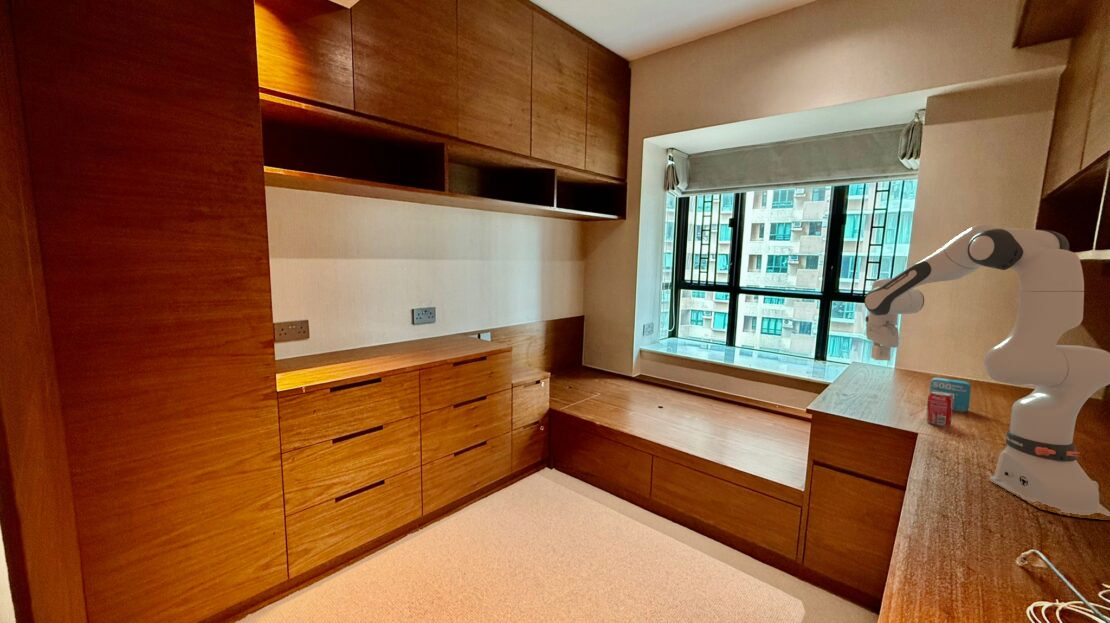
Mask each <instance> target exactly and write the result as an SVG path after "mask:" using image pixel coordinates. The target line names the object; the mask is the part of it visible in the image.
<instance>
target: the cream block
mask: <svg viewBox="0 0 1110 623" xmlns="http://www.w3.org/2000/svg"><path fill="white" fill-rule="evenodd" d="M891 349H892V347H890V349H889V351H888V356H887V357H883V356H881V351H882V345H873V344H872V345H871V353H870V354H871V356H870V357H871V359H873V360H875V361H887V362H888V361H891V352H892V350H891Z"/></svg>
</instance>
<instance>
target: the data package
mask: <svg viewBox="0 0 1110 623" xmlns="http://www.w3.org/2000/svg"><path fill="white" fill-rule="evenodd" d="M929 386H930V387H929V394H930V393H931V391H942V392H947V393H950V394H951V397H952V398H953V411H955V412H957V413H958V412H960V413H967V412H968V411H969V409H970V402H971V401H970V399H971V389H972V384H971V383H970V382H968V381H965V380H958V379H957V380H956V379H950V378H943V377H942V378H941V377H933V378H932V379H931V381H930V384H929ZM953 411H952V412H953Z"/></svg>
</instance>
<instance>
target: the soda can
mask: <svg viewBox="0 0 1110 623" xmlns="http://www.w3.org/2000/svg"><path fill="white" fill-rule="evenodd" d="M952 410H953V398H952V397H951V394H950V393H947V392H942V391H931V393H930V392H929V394H928V397H927V402H926V416H925V418H926V421H927V422H928V423H929V424H931V425H933V426H938V427H947V426H950V425H951V423H952V418H953V411H952Z"/></svg>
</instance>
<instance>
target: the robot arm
mask: <svg viewBox="0 0 1110 623" xmlns="http://www.w3.org/2000/svg"><path fill="white" fill-rule="evenodd" d="M980 267H986V268H991V269H996V270H1001V271H1007V270H1008V269H1011V270H1013V271H1015V272H1016V274H1017V275H1018V277H1019V285H1018V286H1019V287H1018V304H1017V313H1016V314H1017V315H1016V320H1015V322H1014V326H1013V327H1012V329H1011V331H1010V332H1009V334H1008V335H1007V336H1006V338H1004V339H1003V340H1002V341H1000V342H999V344H997V345H995V346H994V347H991V348H990V349H988V351H987V352H986V354H985V355H984V358H983V367H984V370H985V372H986V373H987V374H988V376H989V377H990V378H992V379H993V380H994V381H996V382H999V383H1000V382H1001V383H1005V384H1009V385H1015V386H1020V387H1021V386H1023V387H1035V389H1034V390H1033V391H1032V392H1031V393H1030V394H1029V395H1028V394H1027V396H1024V397H1022V398H1019V399H1017V400H1016V401H1015V402H1014V403H1013V405H1011V406H1012V407H1011V413H1010V423H1009V429H1007V431H1006V434H1005V444H1006V446H1005V447H1004V449H1003V450H1002V451H1001V452H1000V453H999V455H998V459H997V464H996V468H995V471H994V475H990V476H989V477H988V481H989V480H990V481H992V482H994V483H996V484H998V485H999V486H1001V487H1004V488H1005V489H1007V490H1009V491H1011V492H1013V493H1016V494H1017V495H1020V496H1021V497H1023V498H1025V499H1027V500H1029V501H1032V502H1036V501H1039V502H1041V503H1042V504H1046V505H1048V506H1050V507H1055V508H1058V509H1060V510H1061V511H1060V512H1065V513H1072V514H1079V515H1091V514H1094V513H1101V514H1104V515H1106V516H1110V511H1109V510H1108V508H1106V507H1104V506H1103V505H1102V504H1101V503H1100V492H1099V489H1100V488H1099V487H1100V486H1099V483H1098V482H1097V481H1095V480H1092V479H1091V478H1090V477H1089V476H1088V475H1087V473H1086V472H1085V470H1084V469H1083V468H1082V467H1081V465H1080V463H1079V462H1078V458H1079V457H1080V455H1079V454H1081V452H1080V451H1077V448H1076V445H1075V443H1074V442H1073V440H1074V433H1075V427H1076V421H1077V417H1078V414H1079V413H1080V411H1081V409H1082V407H1083V406H1084V405H1085V403H1086V401H1087V400H1088V399H1090V397H1091V396H1093V394H1095V393H1096V392H1098V391H1099V390H1100V389H1102V388H1104V387H1106V386H1109V385H1110V352H1109V351H1107V350H1105V349H1101V348H1095V347H1090V346H1085V345H1078V344H1077V345H1072V344H1071V345H1070V344H1068V345H1067V344H1063V345H1062V344H1058V341H1059V340H1060V338H1061V337H1062V336H1063V335H1064V333H1066V332H1068V331H1069V330H1072V329H1074V328H1076V327H1078V326H1079V325H1080V324H1081V323H1082V321H1083V319H1084V305H1085V303H1084V300H1085V299H1084V298H1085V280H1084V273H1083V266H1082V263H1081V260H1080V257H1079V255H1077V254H1076V253H1075V252H1073V251H1071V250H1070V243H1069V241H1068V239H1067V237H1066V236H1065V235H1063V234H1061V233H1059V232H1057V231H1054V230H1048V229H1031V228H1023V227H1020V228H1019V227H1017V228H1015V227H1014V228H1013V227H1011V228H999V227H997V226H994V225H992V224H986V223H982V224H976V225H973V226H972V227H969V228H968V229H966V230H965V231H962V232H961V233H959V234H958V235H957V236H955V237H954V238H952V239H951V240H949V242H947V243H946V244H945V245H944V246H942V247H941V248H939V249H938V250H936V251H935V252H933V253H932V254H930V255H928V256H927V257H926V258H923V259H922V260H921V261H919V262H917V263H914V264H912V265H911V266H909V267H907V268H906V269H904V270H903V271H902V272H899V273H898V274H897V275H896V276H894V277H889V278H888V277H887V278H879V279H876V280H874V282H873V283H872V286H871V290H869V291H868V293H867V294H866V295H865V298H864V302H863V303H864V306H865V308H866V309H867V311H868V312H869V314H868V315H866V316H865V318H864V320H865V323H866V327H865V328H866V329H865V330H866V331H865V332H866V338H867V340H869V341H871V342H873V343H872V345H880V346H882V351H881V356H883V357H887V356H888V351H889V349H890V348H892V349H893V348H895V349H896V348H898V346H899V344H900V342H899V341H900V340H899V339H900V338H899V337H900V336H899V335H900V332H899V328H898V327H897V326H898V323H899V322H898V320H899V319H898V317H899V315H910V314H912V315H913V314H916V313H919V312H920V311H921V310H922V309H923V307H924V306H925V296H924V294H923V293H922V291H920V289H918V288H916V287H919V286H923V285H927V284H932V283H939V282H940V283H941V282H947V281H954V280H959V279H962V278H964V277H966V276H968V275H971V274H972V273H974V272H975V271H977V270H978V269H980ZM990 481H989V482H990ZM992 482H991V483H992ZM999 486H998V487H999ZM1035 504H1036V503H1035ZM1053 510H1054V509H1053Z"/></svg>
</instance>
